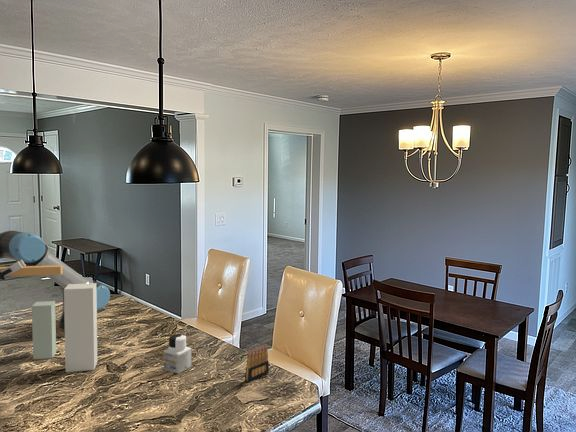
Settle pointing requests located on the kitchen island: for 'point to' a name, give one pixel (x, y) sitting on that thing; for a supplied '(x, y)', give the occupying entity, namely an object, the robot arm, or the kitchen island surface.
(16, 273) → the bar
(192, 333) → the kitchen island surface
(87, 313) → the post
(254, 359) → the ammunition clip
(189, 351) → the container
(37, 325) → the pale green tall block
